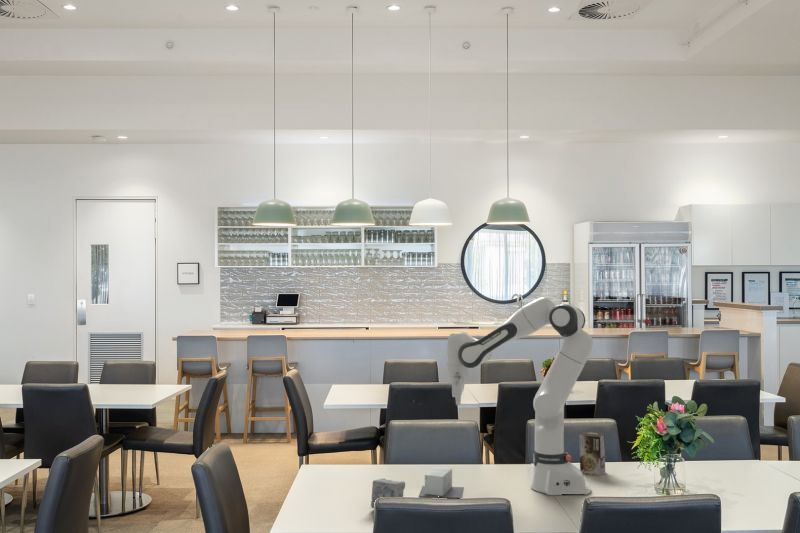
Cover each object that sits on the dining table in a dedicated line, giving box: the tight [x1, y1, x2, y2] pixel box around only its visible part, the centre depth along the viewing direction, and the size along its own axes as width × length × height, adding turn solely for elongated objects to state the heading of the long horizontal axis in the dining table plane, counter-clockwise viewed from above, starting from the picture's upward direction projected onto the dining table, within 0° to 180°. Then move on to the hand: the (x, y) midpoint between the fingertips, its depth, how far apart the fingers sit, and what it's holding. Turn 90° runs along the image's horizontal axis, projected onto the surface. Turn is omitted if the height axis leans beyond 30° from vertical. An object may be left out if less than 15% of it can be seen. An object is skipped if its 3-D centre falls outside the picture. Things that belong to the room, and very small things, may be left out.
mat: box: [418, 485, 464, 499], centre depth 269 cm, size 16×13×1 cm
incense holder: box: [370, 477, 406, 509], centre depth 250 cm, size 10×8×10 cm
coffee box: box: [578, 431, 606, 476], centre depth 295 cm, size 9×6×16 cm
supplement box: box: [424, 466, 453, 496], centre depth 270 cm, size 7×7×13 cm
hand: (458, 404), depth 293 cm, fingers closed
